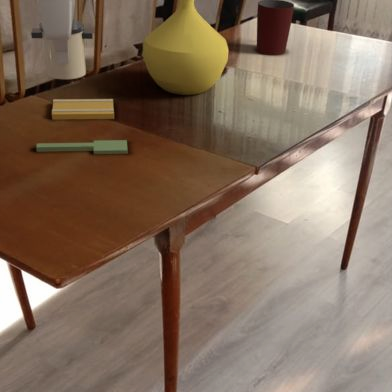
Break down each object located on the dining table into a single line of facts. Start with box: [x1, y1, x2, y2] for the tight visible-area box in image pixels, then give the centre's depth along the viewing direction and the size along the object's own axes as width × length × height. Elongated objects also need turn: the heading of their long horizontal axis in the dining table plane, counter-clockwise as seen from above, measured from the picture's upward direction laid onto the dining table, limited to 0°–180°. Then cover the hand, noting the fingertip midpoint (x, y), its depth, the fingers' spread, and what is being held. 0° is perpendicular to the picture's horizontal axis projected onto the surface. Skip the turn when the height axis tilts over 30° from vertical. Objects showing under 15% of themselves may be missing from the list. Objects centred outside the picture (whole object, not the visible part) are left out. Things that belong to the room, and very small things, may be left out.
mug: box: [256, 0, 295, 56], centre depth 159 cm, size 12×9×11 cm
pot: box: [30, 19, 94, 80], centre depth 98 cm, size 9×7×8 cm
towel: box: [51, 98, 115, 120], centre depth 125 cm, size 12×8×1 cm, turn 97°
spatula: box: [35, 139, 129, 155], centre depth 112 cm, size 16×4×1 cm, turn 97°
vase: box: [142, 0, 229, 96], centre depth 133 cm, size 18×18×19 cm
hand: (64, 54), depth 99 cm, fingers closed on pot, 6 cm apart
